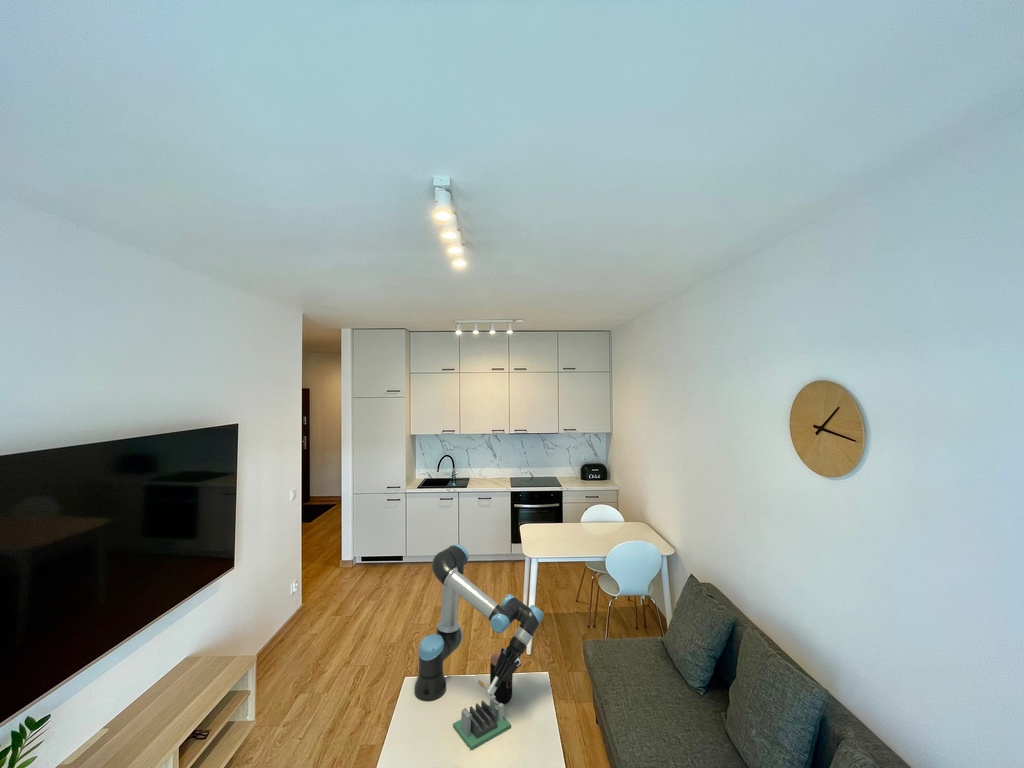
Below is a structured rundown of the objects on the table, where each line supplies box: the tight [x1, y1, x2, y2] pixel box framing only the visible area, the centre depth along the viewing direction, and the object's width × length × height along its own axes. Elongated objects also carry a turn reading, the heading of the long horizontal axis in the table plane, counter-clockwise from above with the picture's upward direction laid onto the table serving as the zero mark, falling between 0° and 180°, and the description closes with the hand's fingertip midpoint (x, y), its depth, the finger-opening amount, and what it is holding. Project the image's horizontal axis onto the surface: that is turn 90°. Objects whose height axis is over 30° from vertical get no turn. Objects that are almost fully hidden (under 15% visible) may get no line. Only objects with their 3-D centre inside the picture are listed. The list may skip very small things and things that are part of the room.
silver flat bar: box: [476, 680, 500, 707], centre depth 179 cm, size 4×15×2 cm
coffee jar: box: [489, 651, 514, 705], centre depth 195 cm, size 11×11×18 cm
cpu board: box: [452, 695, 512, 751], centre depth 176 cm, size 15×20×10 cm
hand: (490, 693), depth 178 cm, fingers closed
